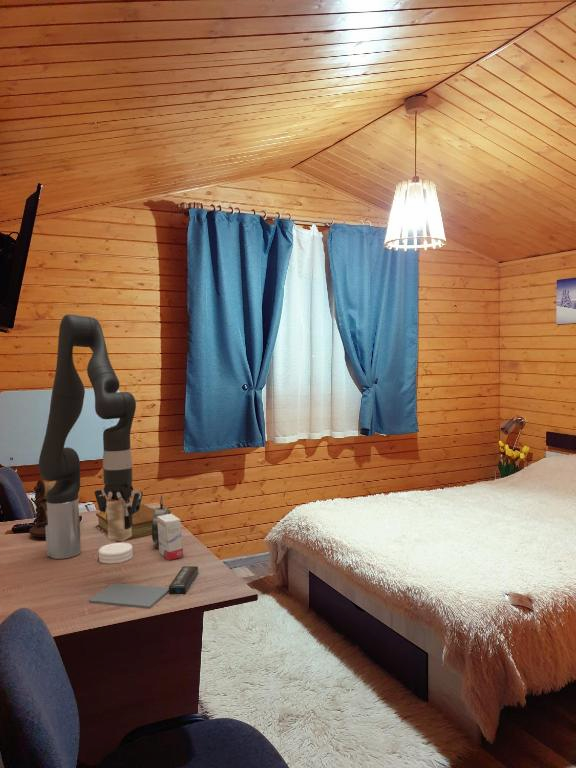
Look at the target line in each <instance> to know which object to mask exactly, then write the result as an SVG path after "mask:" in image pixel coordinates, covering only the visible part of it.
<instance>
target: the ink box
mask: <svg viewBox="0 0 576 768" xmlns="http://www.w3.org/2000/svg"><path fill="white" fill-rule="evenodd" d="M157 522H158V538H159V546H158V551H159V555H161V556H162V557H165V558H166V559H167V560H168V561H172V560H176V559H179V558H183V557H184V548H183V538H182V537H183V536H182V524H181V519H180V518H179V517H177V516H176V515H174V514H173V513H171V514H167V515H161V516H157Z"/></svg>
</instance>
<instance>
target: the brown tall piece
mask: <svg viewBox="0 0 576 768" xmlns="http://www.w3.org/2000/svg"><path fill="white" fill-rule="evenodd" d="M56 481H57V480H55V481H48V482H44V481H43V479H38V480H37V482H36V485H35V486H34V487H33V491H34V494H35V495H34V501H33V504H34V505H35V506H34V507H35V512H36V513H35V515H34V517H35V520H36V522H35V523H36V524H35V525H33V526H32V527H31V528H30V529H28V530H29V531H28V532H29V535H30V536H32V537H36V538H38V537H39V538H40V537H41V538H44V540H45V541H46V530H45V527H46V525H48V515H47V499H46V495H47V492H48V491H49V490H50V489H51V488H53V486H54V485H55V483H56Z"/></svg>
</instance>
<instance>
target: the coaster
mask: <svg viewBox="0 0 576 768" xmlns="http://www.w3.org/2000/svg"><path fill="white" fill-rule="evenodd" d="M133 548H134V546H133V545H132V544H131V543H128V542H119V543H118V542H113V543H107V544H106V545H102V546H101V547H100V548H99V549H98V561H99V562H100V563H102V564H105V565H106V564H107V565H113V564H114V565H115V564H120V563H125V562H127V561H129V560H131V559H132V558H133V557H134V553H133V551H134V550H133Z"/></svg>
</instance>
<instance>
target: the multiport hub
mask: <svg viewBox="0 0 576 768" xmlns="http://www.w3.org/2000/svg"><path fill="white" fill-rule="evenodd" d="M197 574H198V575H199V567H198V566H195V565H192V566H189V565H188V566H187V565H186V566H182V567H181V568H180V570H179V571H178V573H177V574H176V576H175V577H174V578H173V580H172V581H171V583H170V585H169V586H168V588H169V592H168V595H170V594H171V595H172V594H184V595H186V594H187V593H188V591H189V590H190V588H191V586H192V585H193V583H194V582H195V580H194V579H196V578H197V576H198V575H197ZM195 577H196V578H195ZM192 582H193V583H192ZM191 584H192V585H191ZM188 589H189V590H188ZM186 592H187V593H186ZM171 595H170V596H171Z"/></svg>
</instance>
